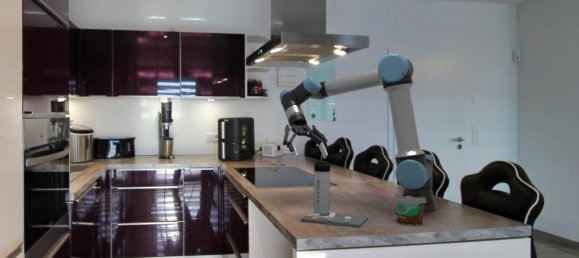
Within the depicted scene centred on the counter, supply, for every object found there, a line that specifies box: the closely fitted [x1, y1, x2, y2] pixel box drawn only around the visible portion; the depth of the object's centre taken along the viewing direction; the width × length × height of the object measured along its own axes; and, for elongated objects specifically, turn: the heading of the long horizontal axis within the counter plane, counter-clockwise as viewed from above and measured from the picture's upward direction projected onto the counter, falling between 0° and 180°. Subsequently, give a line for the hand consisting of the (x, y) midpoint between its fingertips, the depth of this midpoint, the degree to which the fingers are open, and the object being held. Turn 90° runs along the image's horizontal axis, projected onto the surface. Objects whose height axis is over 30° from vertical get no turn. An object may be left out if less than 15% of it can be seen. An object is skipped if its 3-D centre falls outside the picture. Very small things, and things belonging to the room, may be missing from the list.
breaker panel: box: [300, 210, 369, 228], centre depth 161 cm, size 22×14×2 cm, turn 68°
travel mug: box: [313, 161, 331, 216], centre depth 166 cm, size 6×7×20 cm
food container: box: [393, 192, 426, 226], centre depth 158 cm, size 12×6×10 cm, turn 45°
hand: (311, 157), depth 176 cm, fingers open, 13 cm apart
